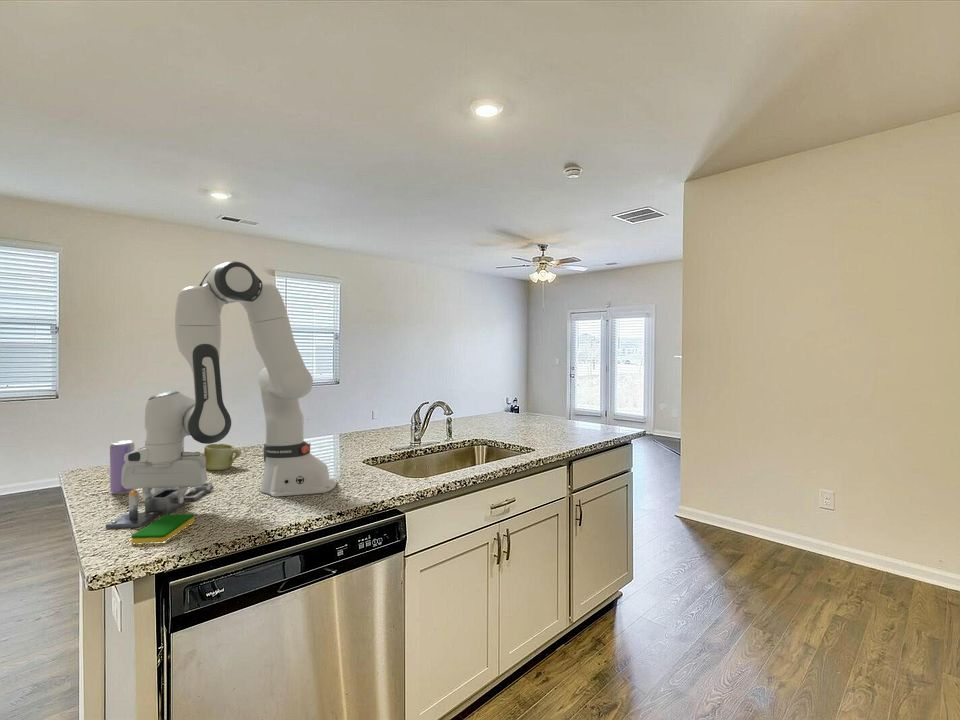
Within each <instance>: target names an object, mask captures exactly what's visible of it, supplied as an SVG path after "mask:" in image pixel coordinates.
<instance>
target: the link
mask: <svg viewBox="0 0 960 720" xmlns="http://www.w3.org/2000/svg"><path fill="white" fill-rule="evenodd" d="M180 492H181V491H179V489H162V490H161V491H159V492H157V493H155V494H153V495H152V496H150V497H148V498H146V499H145V502H144V507H145V508H144V513H150V512H159V516H164V515H171V514H172V513H173V512H175V511H177V510H178V509H180V507H182V506H184V505H185V501H184V496H183V502H182V503H181V504H175V503H174V502H175V500H174V498H175V497H177V496H179V494H180Z"/></svg>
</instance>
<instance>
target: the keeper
mask: <svg viewBox="0 0 960 720" xmlns="http://www.w3.org/2000/svg"><path fill="white" fill-rule="evenodd" d="M138 501H139V493H138V491H136V490H133V491H131V492H129V493H128V512H126V513H124V514H122V515H121V516H119V517H117V518H115V519H113V520H111V521H110V522H108V523H106V524H105V529H135V528H136V527H139V528H140V527H141V528H144V527H145V526H146V525H149V524H150V523H151V522H152V521H155V518H156V519H157V518H158V516H159V517H160V515H159V512H150V513H145V512H139V511H138V510H139V505H138V504H139V502H138ZM150 521H151V522H150ZM144 525H145V526H144Z"/></svg>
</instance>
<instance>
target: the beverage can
mask: <svg viewBox="0 0 960 720" xmlns="http://www.w3.org/2000/svg"><path fill="white" fill-rule="evenodd" d="M135 448H136V447H135V443H134V440H119V441H113V442H111V443H110V446H109V475H110V476H109V483H110V487H109V488H110V493H111V494H112V495H124V494H129V493H130V492H131V491H135V489H136V488H131V489H125V488H124V487H123V486H122V484H121V475H122V468H123V465H124V464H125V463H127V462H125V461H124V455H125V454H127V453H130V452H132V451H135V450H136V449H135Z"/></svg>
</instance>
